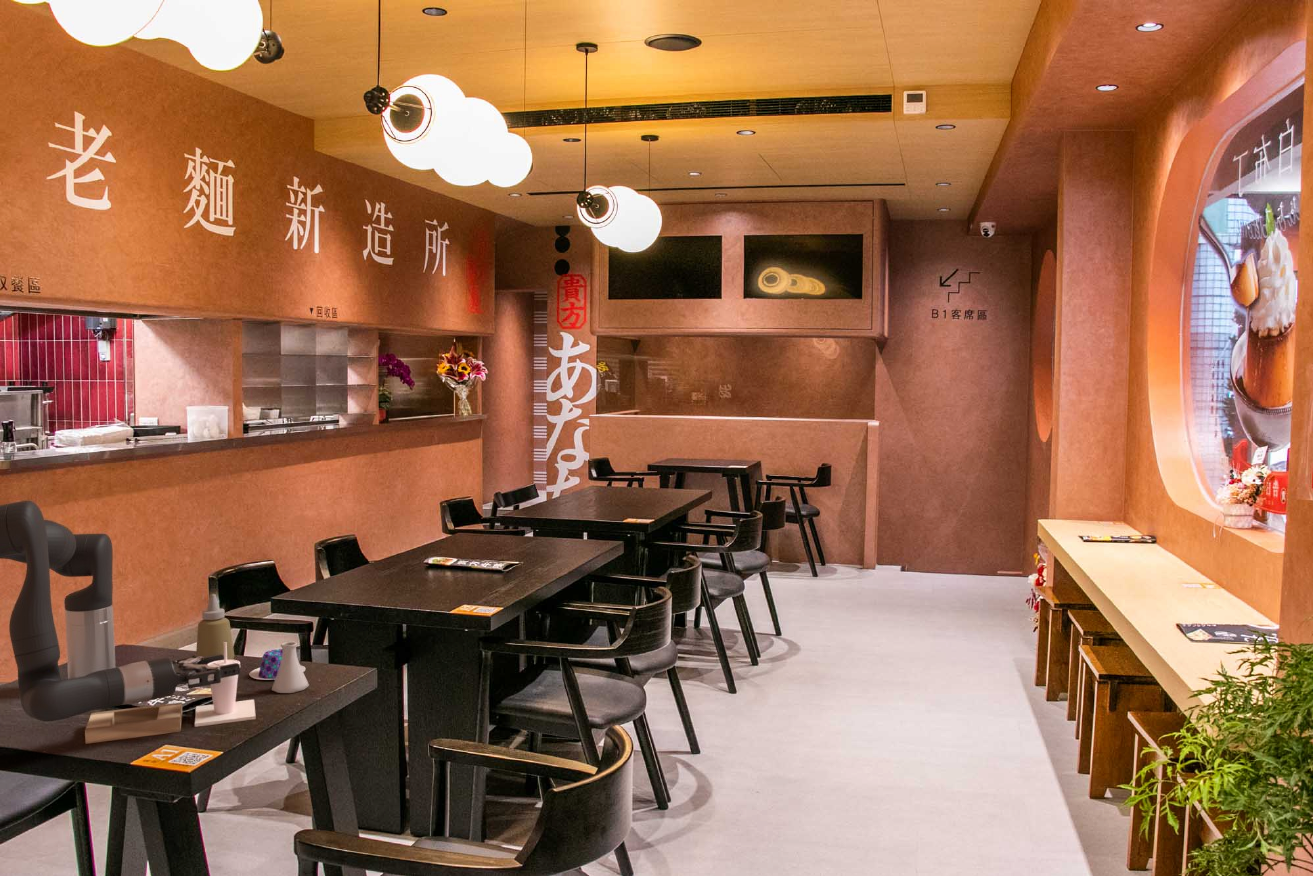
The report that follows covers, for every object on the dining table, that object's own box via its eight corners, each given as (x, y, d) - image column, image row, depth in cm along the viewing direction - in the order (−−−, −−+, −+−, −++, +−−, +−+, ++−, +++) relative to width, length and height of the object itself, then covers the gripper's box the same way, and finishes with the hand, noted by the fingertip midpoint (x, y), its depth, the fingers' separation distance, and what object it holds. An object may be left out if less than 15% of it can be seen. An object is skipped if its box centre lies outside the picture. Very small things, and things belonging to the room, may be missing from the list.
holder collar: (92, 725, 202) (91, 713, 202) (182, 714, 208) (181, 702, 208) (85, 743, 193) (84, 730, 192) (180, 731, 199) (179, 718, 199)
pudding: (299, 681, 230) (298, 658, 230) (242, 684, 229) (242, 660, 229) (310, 666, 242) (309, 644, 242) (257, 668, 241) (256, 645, 240)
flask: (265, 692, 222) (263, 646, 222) (289, 682, 229) (287, 637, 228) (292, 696, 220) (290, 649, 219) (315, 686, 226) (313, 641, 226)
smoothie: (229, 717, 205) (227, 647, 204) (200, 715, 206) (198, 645, 205) (248, 707, 211) (246, 639, 210) (220, 705, 212) (218, 637, 211)
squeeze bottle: (225, 678, 232) (222, 598, 231) (189, 678, 232) (186, 599, 231) (240, 667, 240) (238, 590, 239) (206, 667, 240) (203, 590, 239)
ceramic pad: (196, 709, 211) (196, 706, 211) (254, 702, 216) (254, 699, 216) (194, 726, 201) (194, 723, 201) (255, 719, 205) (255, 716, 205)
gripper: (156, 669, 192) (244, 652, 203) (132, 654, 203) (217, 638, 214) (158, 709, 193) (245, 690, 204) (134, 691, 203) (218, 674, 214)
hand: (231, 663), depth 209 cm, fingers open, 8 cm apart
